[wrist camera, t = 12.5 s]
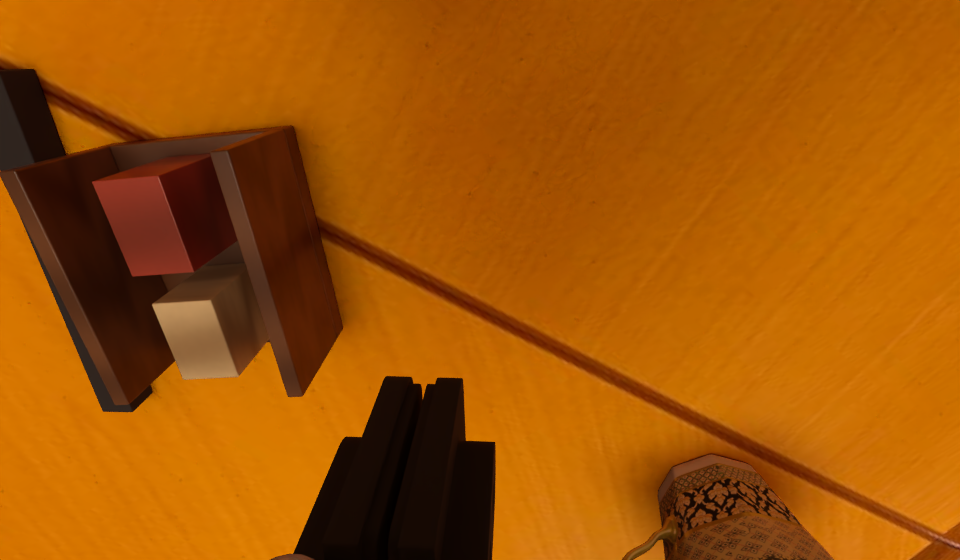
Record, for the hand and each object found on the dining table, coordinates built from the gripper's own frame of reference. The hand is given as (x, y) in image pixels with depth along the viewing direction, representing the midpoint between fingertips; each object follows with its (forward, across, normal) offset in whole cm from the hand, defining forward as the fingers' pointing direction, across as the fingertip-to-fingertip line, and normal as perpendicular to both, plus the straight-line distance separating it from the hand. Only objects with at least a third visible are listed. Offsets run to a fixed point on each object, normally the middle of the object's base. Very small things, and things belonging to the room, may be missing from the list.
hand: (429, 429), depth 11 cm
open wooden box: (+17, +14, +3) cm, 22 cm away
